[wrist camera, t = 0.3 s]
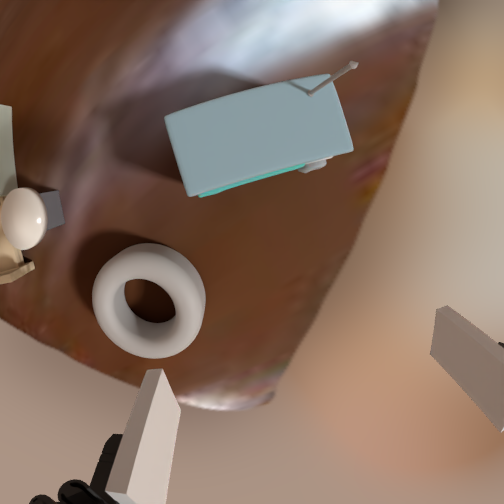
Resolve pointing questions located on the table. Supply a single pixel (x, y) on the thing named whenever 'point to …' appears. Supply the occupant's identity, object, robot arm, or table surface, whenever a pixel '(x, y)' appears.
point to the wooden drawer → (11, 258)
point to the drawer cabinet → (6, 152)
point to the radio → (259, 133)
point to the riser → (53, 209)
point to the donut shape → (165, 275)
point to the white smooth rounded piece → (24, 218)
